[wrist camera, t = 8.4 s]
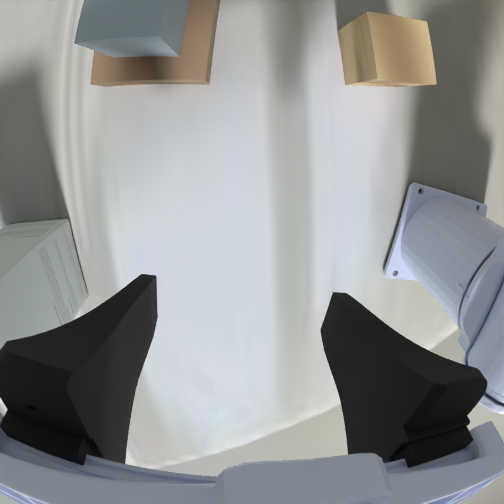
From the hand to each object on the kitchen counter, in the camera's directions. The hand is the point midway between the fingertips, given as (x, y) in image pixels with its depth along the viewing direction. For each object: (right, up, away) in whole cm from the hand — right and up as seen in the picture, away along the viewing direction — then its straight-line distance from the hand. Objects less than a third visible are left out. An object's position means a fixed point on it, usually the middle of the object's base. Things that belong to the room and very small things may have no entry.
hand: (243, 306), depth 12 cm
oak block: (+8, +15, +4) cm, 18 cm away
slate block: (-5, +15, +1) cm, 16 cm away
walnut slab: (-6, +16, +3) cm, 18 cm away
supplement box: (-17, +2, +10) cm, 20 cm away
